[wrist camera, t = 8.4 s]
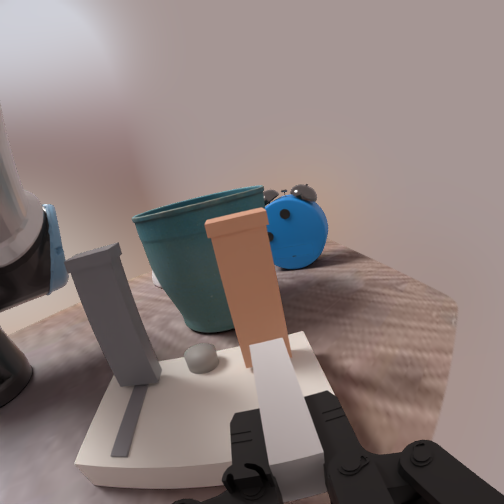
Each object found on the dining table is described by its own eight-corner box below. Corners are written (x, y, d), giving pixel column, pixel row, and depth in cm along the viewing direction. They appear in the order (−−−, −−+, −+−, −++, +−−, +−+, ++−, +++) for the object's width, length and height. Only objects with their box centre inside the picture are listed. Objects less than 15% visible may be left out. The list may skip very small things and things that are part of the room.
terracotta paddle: (242, 354, 26) (206, 219, 23) (289, 343, 27) (261, 207, 23) (244, 370, 24) (204, 224, 21) (294, 358, 24) (266, 210, 21)
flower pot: (219, 285, 56) (197, 195, 52) (307, 290, 46) (287, 178, 41) (145, 332, 42) (108, 223, 38) (237, 359, 32) (196, 205, 27)
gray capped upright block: (124, 373, 26) (76, 254, 23) (164, 368, 26) (118, 242, 23) (118, 388, 24) (63, 261, 21) (160, 383, 24) (108, 249, 21)
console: (128, 387, 29) (112, 355, 28) (306, 354, 30) (300, 318, 29) (94, 485, 16) (63, 451, 15) (352, 455, 16) (352, 417, 15)
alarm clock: (332, 255, 58) (320, 179, 54) (330, 267, 53) (317, 183, 49) (269, 262, 63) (254, 191, 59) (261, 274, 57) (244, 195, 53)
